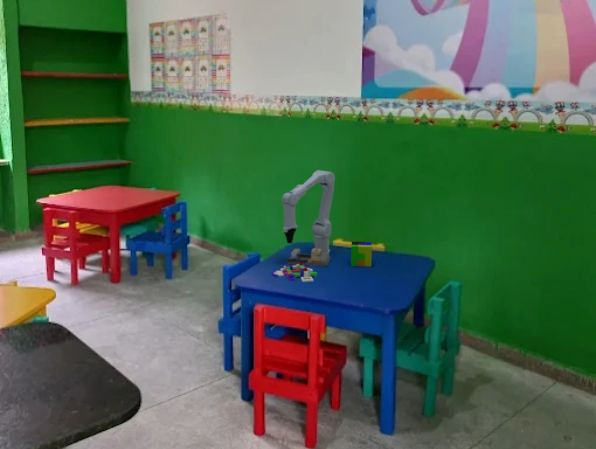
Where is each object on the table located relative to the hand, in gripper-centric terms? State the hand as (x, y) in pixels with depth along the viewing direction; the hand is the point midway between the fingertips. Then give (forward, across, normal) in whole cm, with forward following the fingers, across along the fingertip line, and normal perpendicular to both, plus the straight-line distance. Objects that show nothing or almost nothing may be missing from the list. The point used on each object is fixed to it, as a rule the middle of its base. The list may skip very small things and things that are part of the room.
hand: (289, 242), depth 314 cm
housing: (+8, +2, -14) cm, 16 cm away
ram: (+8, 0, -3) cm, 8 cm away
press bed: (+10, +1, -10) cm, 14 cm away
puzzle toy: (+10, +8, -36) cm, 38 cm away
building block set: (+10, -19, -9) cm, 24 cm away
